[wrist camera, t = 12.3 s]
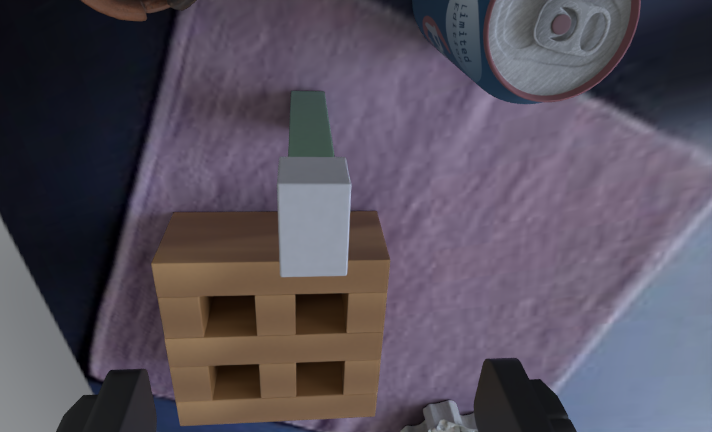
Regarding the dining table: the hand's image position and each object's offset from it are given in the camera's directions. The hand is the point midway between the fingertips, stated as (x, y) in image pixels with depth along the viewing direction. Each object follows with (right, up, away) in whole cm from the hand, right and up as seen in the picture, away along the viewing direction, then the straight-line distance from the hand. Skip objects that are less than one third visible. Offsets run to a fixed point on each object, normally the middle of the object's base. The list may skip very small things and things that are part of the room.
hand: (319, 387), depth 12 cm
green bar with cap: (-2, +11, +19) cm, 22 cm away
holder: (-5, -1, +26) cm, 26 cm away
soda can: (+7, +17, +17) cm, 25 cm away
